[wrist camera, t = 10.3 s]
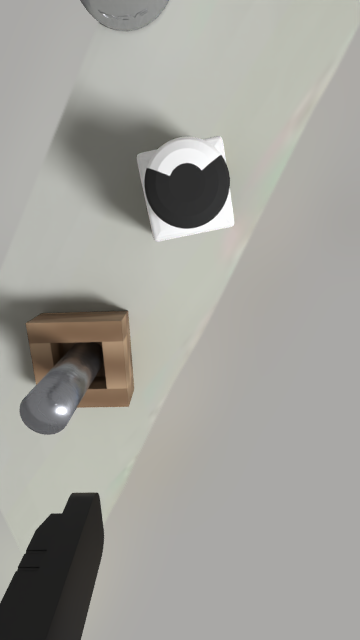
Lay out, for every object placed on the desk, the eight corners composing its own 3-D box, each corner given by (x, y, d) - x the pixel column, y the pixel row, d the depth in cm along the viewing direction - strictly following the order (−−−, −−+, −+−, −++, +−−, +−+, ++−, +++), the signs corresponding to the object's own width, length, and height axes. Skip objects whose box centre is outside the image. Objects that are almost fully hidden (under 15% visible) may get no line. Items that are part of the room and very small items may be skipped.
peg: (68, 339, 37) (15, 391, 25) (102, 339, 37) (65, 390, 25) (72, 371, 38) (24, 435, 27) (106, 370, 38) (72, 434, 26)
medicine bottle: (225, 225, 34) (246, 226, 23) (160, 239, 35) (147, 245, 23) (214, 153, 32) (231, 112, 21) (145, 168, 33) (123, 137, 21)
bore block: (42, 313, 37) (25, 323, 33) (128, 311, 37) (121, 320, 33) (54, 390, 40) (40, 408, 36) (134, 389, 40) (128, 406, 36)
